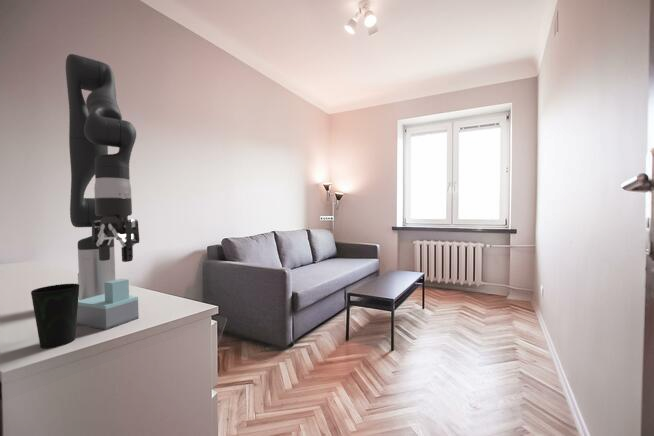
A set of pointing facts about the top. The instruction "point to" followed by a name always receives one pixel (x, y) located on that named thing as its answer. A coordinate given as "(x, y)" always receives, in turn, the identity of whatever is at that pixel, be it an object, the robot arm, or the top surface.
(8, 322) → the top surface
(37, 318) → the cup
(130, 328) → the top surface
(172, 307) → the top surface
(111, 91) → the robot arm
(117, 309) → the tub
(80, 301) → the lid
